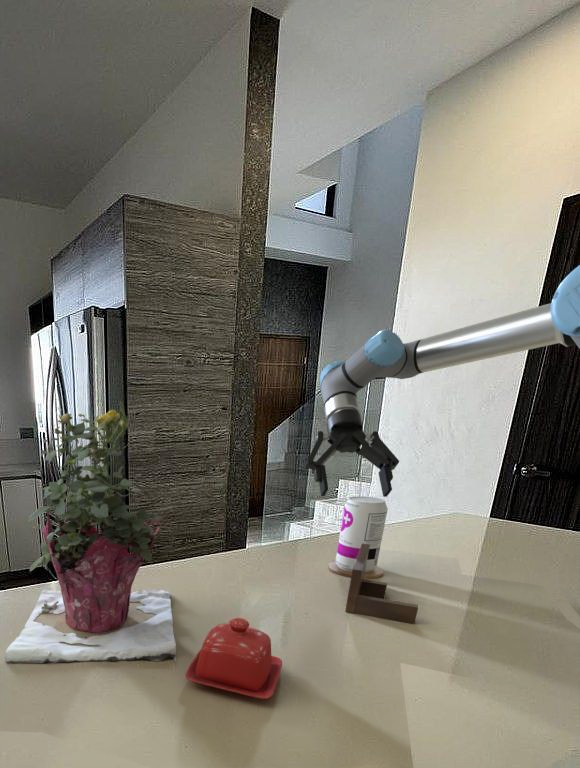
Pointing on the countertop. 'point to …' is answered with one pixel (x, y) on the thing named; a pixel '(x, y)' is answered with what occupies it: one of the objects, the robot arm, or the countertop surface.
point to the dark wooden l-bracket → (374, 595)
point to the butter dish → (237, 661)
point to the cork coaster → (368, 575)
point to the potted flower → (95, 562)
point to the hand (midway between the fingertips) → (356, 493)
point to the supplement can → (361, 531)
